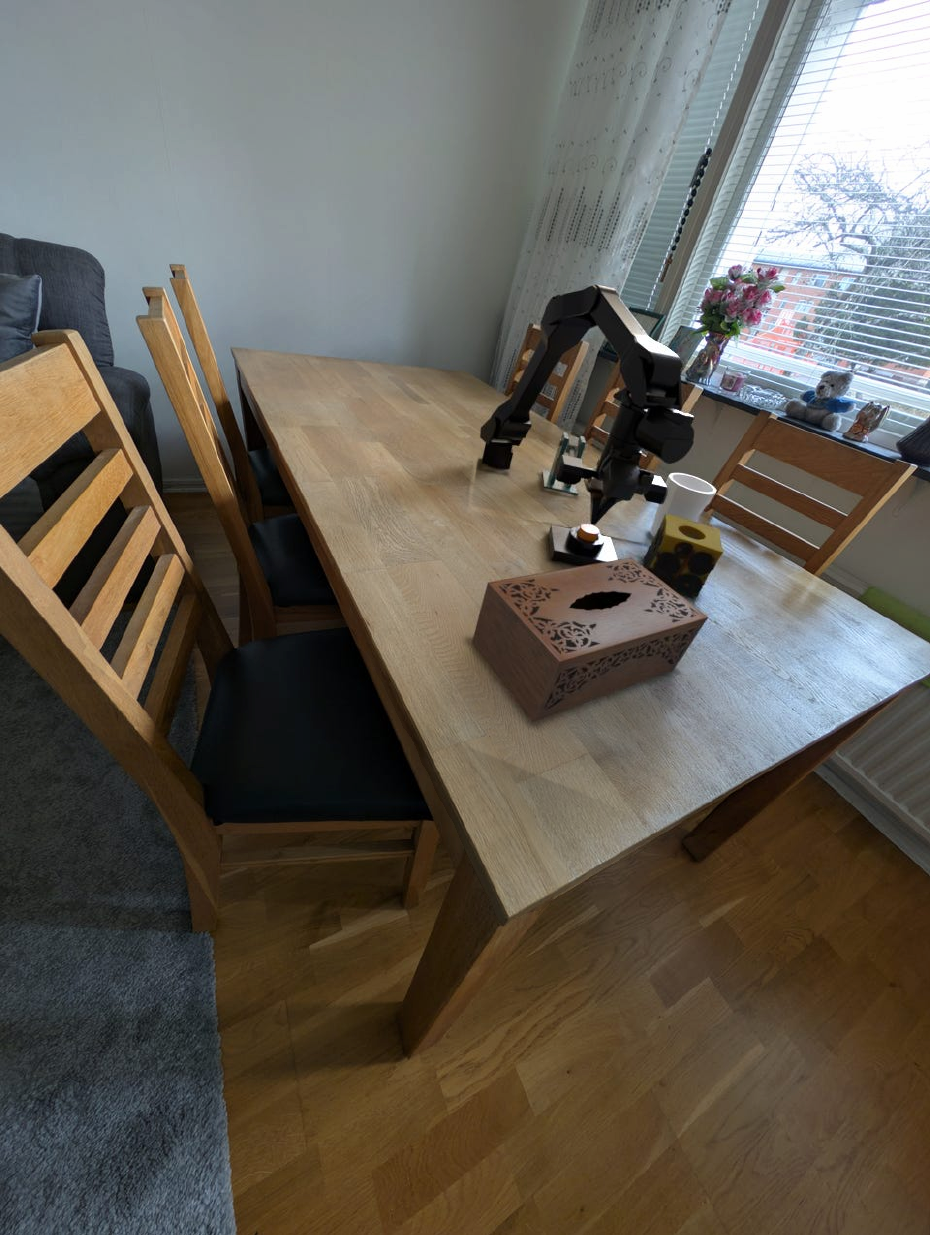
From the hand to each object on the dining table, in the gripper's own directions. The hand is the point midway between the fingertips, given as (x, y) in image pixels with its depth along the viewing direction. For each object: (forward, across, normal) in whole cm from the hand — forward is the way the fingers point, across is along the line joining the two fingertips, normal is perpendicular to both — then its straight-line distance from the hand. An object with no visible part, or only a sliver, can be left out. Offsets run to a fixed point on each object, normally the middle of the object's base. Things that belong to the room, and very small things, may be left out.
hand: (592, 523), depth 87 cm
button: (+3, 0, 0) cm, 3 cm away
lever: (0, -2, +27) cm, 27 cm away
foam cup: (+7, +20, +14) cm, 25 cm away
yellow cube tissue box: (+7, +17, -2) cm, 18 cm away
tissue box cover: (+7, -4, -30) cm, 31 cm away
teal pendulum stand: (+6, -2, +31) cm, 32 cm away
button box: (+6, 0, 0) cm, 6 cm away
